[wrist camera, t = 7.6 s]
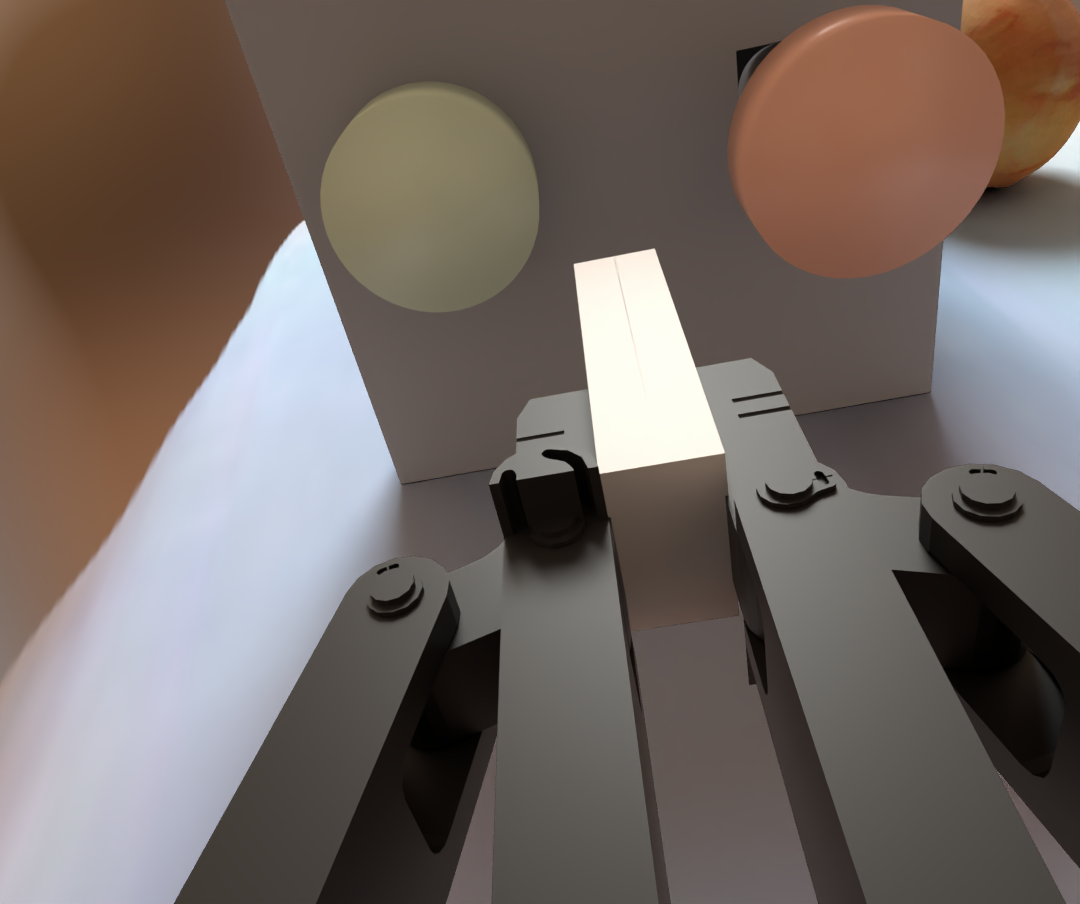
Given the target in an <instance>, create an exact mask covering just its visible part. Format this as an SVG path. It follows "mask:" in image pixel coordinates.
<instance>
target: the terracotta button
mask: <svg viewBox="0 0 1080 904" xmlns="http://www.w3.org/2000/svg"><path fill="white" fill-rule="evenodd" d="M738 94H739V100H738V103H737V106H736V108H735V111H734V114H733V118H732V122H731V126H730V130H729V137H728V145H727V161H728V169H729V176H730V180H731V183H732V187H733V190H734V193H735V195H736V197H737V199H738V202H739V204H740V205H741V207H742V208H743V210H744V211H745V213H746V215H747V216H748V217H749V219H750V220H751V222H752V223H753V225H754V226H755V228H756V229H757V230H758V232H759V233H760V235H761V236H762V238H763V239H764V240H765V242H766V243H767V244H768V245H769V246H770V247H771V249H772V250H773V251H774V252H775V253H777V254H778V255H779V256H780V257H781V258H783V259H784V260H785V261H787V262H788V263H790V264H792V265H793V266H795V267H797V268H799V269H801V270H804V271H806V272H808V273H811V274H815V275H819V276H823V277H830V278H860V277H868V276H873V275H877V274H881V273H885V272H888V271H890V270H893V269H896V268H898V267H901V266H903V265H905V264H907V263H909V262H911V261H913V260H915V259H917V258H918V257H920V256H922V255H923V254H925V253H927V252H928V251H930V250H931V249H932V248H934V247H935V246H936V245H938V244H939V243H940V242H942V241H943V240H944V239H945V238H946V237H947V236H948V235H949V234H951V233H952V232H953V231H954V230H955V229H956V228H957V227H958V226H959V225H960V223H961V222H962V221H963V220H964V219H965V218H966V217H967V215H968V214H969V213H970V212H971V210H972V209H973V207H974V206H975V205H976V203H977V202H978V200H979V199H980V197H981V196H982V194H983V192H984V190H985V188H986V187H987V185H988V183H989V181H990V179H991V176H992V174H993V172H994V169H995V167H996V164H997V161H998V158H999V154H1000V151H1001V147H1002V141H1003V136H1004V125H1005V109H1004V98H1003V94H1002V89H1001V85H1000V81H999V79H998V77H997V74H996V72H995V69H994V67H993V65H992V64H991V62H990V60H989V59H988V57H987V56H986V54H985V53H984V52H983V51H982V49H981V48H980V47H979V46H978V45H977V44H976V43H975V42H974V41H973V40H972V39H971V38H969V37H968V36H967V35H965V34H964V33H963V32H962V31H960V30H958V29H956V28H954V27H952V26H950V25H948V24H946V23H943V22H940V21H937V20H934V19H931V18H928V17H925V16H922V15H918V14H915V13H912V12H909V11H906V10H903V9H900V8H897V7H891V6H884V5H859V6H852V7H846V8H843V9H839V10H836V11H832V12H829V13H827V14H824V15H822V16H820V17H818V18H815V19H813V20H811V21H810V22H808V23H806V24H805V25H803V26H801V27H799V28H798V29H796V30H795V31H794V32H792V33H791V34H790V35H788V36H787V37H786V38H784V39H783V40H782V41H781V42H778V43H774V44H771V45H769V46H767V47H765V48H763V49H761V50H760V51H759V52H758V53H756V54H755V55H754V56H753V57H752V58H751V60H750V61H749V62H748V63H747V65H746V67H745V68H744V70H743V72H742V75H741V78H740V81H739V87H738Z"/></svg>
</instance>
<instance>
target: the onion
mask: <svg viewBox="0 0 1080 904" xmlns="http://www.w3.org/2000/svg"><path fill="white" fill-rule="evenodd" d="M961 31H962V32H963V33H964V34H965V35H967V36H968V37H969V38H971V39H972V40H973V41H974V42H975V43H976V44H977V45H978V46H979V47H980V48H981V49H982V51H983V52H984V53H985V54H986V56H987V57H988V59H989V60H990V62H991V64H992V65H993V67H994V69H995V72H996V74H997V77H998V79H999V81H1000V85H1001V89H1002V94H1003V98H1004V109H1005V125H1004V136H1003V141H1002V147H1001V151H1000V154H999V158H998V161H997V164H996V167H995V169H994V172H993V174H992V176H991V179H990V181H989V183H988V185H987V187H1007V186H1010V185H1013V184H1014V183H1016V182H1018V181H1020V180H1022V179H1023V178H1025V177H1027V176H1028V175H1030V174H1031V173H1033V172H1034V171H1036V170H1038V169H1039V168H1040V167H1042V166H1043V165H1044V164H1045V163H1047V162H1048V161H1049V160H1050V159H1051V158H1052V157H1054V156H1055V154H1056V153H1057V152H1058V151H1059V150H1060V149H1061V148H1062V146H1063V145H1064V144H1065V143H1066V142H1067V140H1068V139H1069V137H1070V136H1071V134H1072V133H1073V131H1074V130H1075V128H1076V126H1077V125H1078V123H1079V121H1080V14H1079V12H1078V11H1077V9H1076V8H1075V6H1074V5H1073V4H1072V3H1071V1H1070V0H963V7H962V19H961Z"/></svg>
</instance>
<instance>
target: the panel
mask: <svg viewBox="0 0 1080 904" xmlns="http://www.w3.org/2000/svg"><path fill="white" fill-rule="evenodd" d="M225 3H226V6H227V8H228V11H229V14H230V17H231V19H232V22H233V25H234V28H235V30H236V33H237V36H238V39H239V41H240V44H241V47H242V50H243V52H244V55H245V57H246V60H247V63H248V66H249V69H250V71H251V74H252V77H253V79H254V82H255V85H256V88H257V90H258V93H259V96H260V99H261V101H262V104H263V107H264V110H265V112H266V115H267V118H268V121H269V123H270V126H271V129H272V132H273V134H274V137H275V140H276V142H277V145H278V148H279V151H280V154H281V156H282V159H283V162H284V165H285V167H286V170H287V173H288V175H289V178H290V181H291V184H292V187H293V189H294V192H295V195H296V197H297V200H298V203H299V206H300V208H301V211H302V214H303V217H304V219H305V222H306V225H307V228H308V230H309V233H310V236H311V239H312V241H313V244H314V247H315V250H316V252H317V255H318V258H319V261H320V263H321V266H322V269H323V271H324V274H325V277H326V280H327V282H328V285H329V288H330V291H331V293H332V296H333V299H334V302H335V304H336V307H337V310H338V313H339V315H340V318H341V321H342V324H343V326H344V329H345V332H346V335H347V337H348V340H349V343H350V345H351V348H352V351H353V354H354V356H355V359H356V362H357V365H358V367H359V370H360V373H361V376H362V378H363V381H364V384H365V387H366V389H367V392H368V395H369V398H370V400H371V403H372V406H373V409H374V411H375V414H376V417H377V419H378V422H379V425H380V428H381V430H382V433H383V436H384V439H385V441H386V444H387V447H388V450H389V452H390V455H391V458H392V461H393V463H394V466H395V469H396V472H397V474H398V477H399V480H400V482H401V484H405V483H410V482H416V481H422V480H428V479H433V478H439V477H445V476H450V475H456V474H462V473H468V472H473V471H479V470H485V469H491V468H496V467H499V466H500V465H501V464H502V463H503V462H504V461H505V460H506V459H507V458H509V457H511V456H513V455H515V454H516V442H517V439H516V437H517V418H518V416H519V415H520V413H521V412H522V410H523V409H524V407H525V406H526V404H527V403H528V401H529V400H530V399H535V398H540V397H546V396H552V395H557V394H563V393H569V392H574V391H580V390H586V389H588V381H587V372H586V364H585V355H584V347H583V338H582V330H581V321H580V313H579V305H578V296H577V288H576V279H575V271H574V264H577V263H582V262H587V261H592V260H598V259H603V258H608V257H613V256H618V255H624V254H629V253H634V252H639V251H644V250H650V249H655V251H656V254H657V257H658V260H659V263H660V266H661V269H662V271H663V274H664V277H665V280H666V283H667V286H668V289H669V292H670V295H671V298H672V300H673V303H674V306H675V309H676V312H677V315H678V318H679V321H680V324H681V327H682V330H683V332H684V335H685V338H686V341H687V344H688V347H689V350H690V353H691V356H692V359H693V361H694V364H695V367H696V368H697V367H703V366H708V365H714V364H720V363H725V362H731V361H737V360H742V359H748V358H752V359H754V360H755V361H757V362H758V363H760V364H761V365H763V366H765V367H766V368H768V369H769V370H771V371H772V372H773V373H774V375H775V377H776V379H777V381H778V383H779V385H780V387H781V389H782V393H783V394H784V395H785V397H786V399H787V401H788V403H789V405H790V410H791V409H792V411H793V413H794V415H801V414H807V413H812V412H818V411H824V410H830V409H835V408H841V407H847V406H853V405H858V404H864V403H870V402H876V401H881V400H887V399H893V398H898V397H904V396H910V395H916V394H921V393H927V392H931V382H932V370H933V358H934V345H935V333H936V321H937V309H938V297H939V285H940V273H941V261H942V249H943V241H942V242H940V243H939V244H938V245H936V246H935V247H934V248H932V249H931V250H930V251H928V252H927V253H925V254H923V255H922V256H920V257H918V258H917V259H915V260H913V261H911V262H909V263H907V264H905V265H903V266H901V267H898V268H896V269H893V270H890V271H888V272H885V273H881V274H877V275H873V276H868V277H860V278H830V277H823V276H819V275H815V274H811V273H808V272H806V271H804V270H801V269H799V268H797V267H795V266H793V265H792V264H790V263H788V262H787V261H785V260H784V259H783V258H781V257H780V256H779V255H778V254H777V253H775V252H774V251H773V250H772V249H771V247H770V246H769V245H768V244H767V243H766V242H765V240H764V239H763V238H762V236H761V235H760V233H759V232H758V230H757V229H756V228H755V226H754V225H753V223H752V222H751V220H750V219H749V217H748V216H747V215H746V213H745V211H744V210H743V208H742V207H741V205H740V204H739V202H738V199H737V197H736V195H735V193H734V190H733V187H732V183H731V180H730V176H729V169H728V161H727V145H728V137H729V130H730V126H731V122H732V118H733V114H734V111H735V108H736V106H737V103H738V100H739V94H738V77H737V59H736V51H738V50H743V49H747V48H752V47H756V46H761V45H766V44H770V43H775V42H780V41H782V40H783V39H784V38H786V37H787V36H788V35H790V34H791V33H792V32H794V31H795V30H796V29H798V28H799V27H801V26H803V25H805V24H806V23H808V22H810V21H811V20H813V19H815V18H818V17H820V16H822V15H824V14H827V13H829V12H832V11H836V10H839V9H843V8H846V7H852V6H859V5H884V6H891V7H897V8H900V9H903V10H906V11H909V12H912V13H915V14H918V15H922V16H925V17H928V18H931V19H934V20H937V21H940V22H943V23H946V24H948V25H950V26H952V27H954V28H956V29H958V30H960V31H961V19H962V7H963V0H225ZM420 81H439V82H446V83H452V84H456V85H459V86H463V87H466V88H468V89H470V90H473V91H475V92H477V93H479V94H481V95H482V96H484V97H486V98H487V99H489V100H491V101H492V102H493V103H494V104H496V105H497V106H498V107H499V108H501V109H502V110H503V111H504V112H505V113H506V114H507V115H508V116H509V117H510V118H511V119H512V121H513V122H514V123H515V125H516V126H517V127H518V129H519V130H520V131H521V133H522V135H523V137H524V139H525V140H526V142H527V144H528V146H529V149H530V151H531V154H532V156H533V160H534V164H535V168H536V173H537V181H538V193H539V224H538V232H537V236H536V239H535V243H534V246H533V249H532V251H531V253H530V256H529V258H528V260H527V261H526V263H525V265H524V266H523V268H522V270H521V271H520V272H519V273H518V275H517V276H516V277H515V278H514V280H513V281H512V282H511V283H509V284H508V285H507V286H506V287H505V288H504V289H503V290H502V291H500V292H499V293H498V294H496V295H495V296H493V297H492V298H490V299H488V300H486V301H484V302H482V303H480V304H477V305H475V306H472V307H470V308H466V309H462V310H458V311H450V312H424V311H417V310H412V309H408V308H404V307H401V306H399V305H396V304H393V303H391V302H389V301H387V300H385V299H383V298H381V297H379V296H377V295H376V294H374V293H373V292H371V291H370V290H368V289H367V288H366V287H365V286H363V285H362V284H361V283H360V282H359V281H357V280H356V279H355V277H354V276H353V275H352V274H351V273H350V272H349V271H348V270H347V269H346V267H345V266H344V265H343V263H342V262H341V261H340V259H339V258H338V256H337V254H336V253H335V251H334V249H333V247H332V245H331V243H330V241H329V238H328V236H327V233H326V230H325V226H324V223H323V219H322V212H321V201H320V190H321V182H322V176H323V172H324V168H325V164H326V162H327V159H328V157H329V155H330V152H331V150H332V148H333V147H334V145H335V144H336V142H337V140H338V139H339V137H340V136H341V134H342V133H343V131H344V130H345V129H346V127H347V126H348V124H349V123H350V122H351V120H352V119H353V118H354V117H355V115H356V114H357V113H358V112H359V111H360V110H361V109H362V108H363V107H364V106H365V105H366V104H367V103H368V102H369V101H371V100H372V99H374V98H375V97H377V96H378V95H380V94H381V93H383V92H385V91H387V90H390V89H392V88H394V87H397V86H400V85H404V84H407V83H413V82H420Z"/></svg>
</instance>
